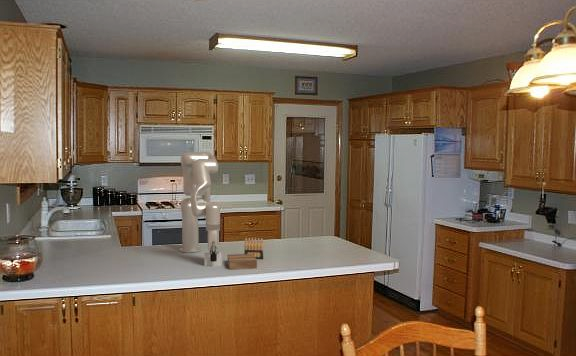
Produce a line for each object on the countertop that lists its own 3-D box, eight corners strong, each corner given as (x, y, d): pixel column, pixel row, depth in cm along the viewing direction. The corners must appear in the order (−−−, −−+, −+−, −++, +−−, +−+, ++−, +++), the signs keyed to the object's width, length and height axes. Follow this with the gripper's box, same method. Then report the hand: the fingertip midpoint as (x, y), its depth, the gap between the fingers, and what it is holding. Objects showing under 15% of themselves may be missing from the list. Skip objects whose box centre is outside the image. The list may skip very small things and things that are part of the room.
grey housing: (204, 263, 272) (204, 251, 271) (221, 263, 274) (221, 250, 273) (204, 266, 267) (204, 253, 266) (221, 265, 269) (221, 252, 268)
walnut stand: (227, 262, 276) (227, 254, 275) (253, 261, 278) (253, 254, 278) (229, 269, 260) (229, 261, 260) (256, 268, 262) (256, 260, 262)
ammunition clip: (244, 258, 284) (244, 237, 283) (244, 258, 286) (244, 237, 285) (263, 259, 283) (263, 238, 282) (263, 258, 285) (263, 237, 284)
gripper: (205, 225, 276) (205, 256, 277) (206, 230, 259) (206, 263, 261) (219, 224, 278) (219, 255, 279) (221, 229, 261) (221, 262, 262)
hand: (213, 259), depth 270 cm, fingers open, 9 cm apart
